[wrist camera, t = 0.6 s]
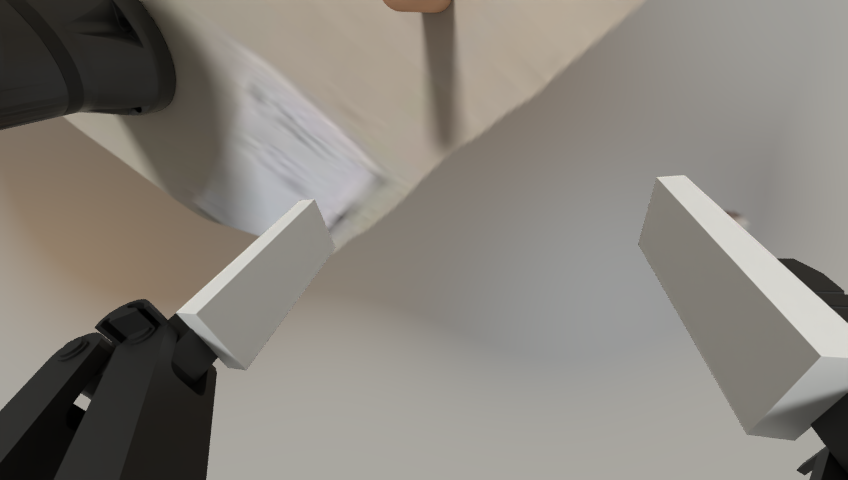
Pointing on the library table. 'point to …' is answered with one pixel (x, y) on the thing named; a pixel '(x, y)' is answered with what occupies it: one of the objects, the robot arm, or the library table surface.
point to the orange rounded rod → (418, 5)
